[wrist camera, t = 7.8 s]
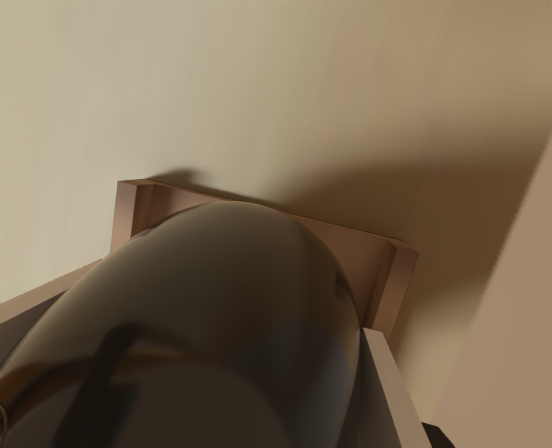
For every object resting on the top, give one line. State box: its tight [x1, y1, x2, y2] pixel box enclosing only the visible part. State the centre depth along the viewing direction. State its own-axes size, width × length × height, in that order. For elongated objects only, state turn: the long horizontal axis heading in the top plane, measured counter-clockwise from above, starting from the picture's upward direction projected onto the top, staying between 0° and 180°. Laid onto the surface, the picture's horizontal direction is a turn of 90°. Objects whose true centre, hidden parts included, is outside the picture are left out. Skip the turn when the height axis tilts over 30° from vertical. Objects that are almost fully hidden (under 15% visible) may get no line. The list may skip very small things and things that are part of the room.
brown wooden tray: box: [110, 179, 419, 344], centre depth 17 cm, size 24×15×6 cm, turn 167°
